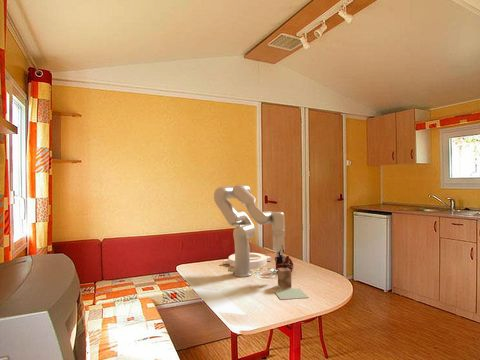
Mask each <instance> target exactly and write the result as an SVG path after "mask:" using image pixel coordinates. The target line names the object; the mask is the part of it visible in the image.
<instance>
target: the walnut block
mask: <svg viewBox="0 0 480 360" xmlns="http://www.w3.org/2000/svg"><path fill="white" fill-rule="evenodd" d="M277 286H278V288H279V290H282V289H292V272H291V270H290V269H289V268H278V271H277Z"/></svg>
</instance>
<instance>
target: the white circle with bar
mask: <svg viewBox="0 0 480 360" xmlns="http://www.w3.org/2000/svg"><path fill="white" fill-rule="evenodd" d="M270 261H272V257H271V256H268V255H267V256H266V255H265V254H263V253H258V252H250V269H258V268H262V267H264V266H266V265H267V264H268V262H270ZM222 262H223V263H222V264H224V265H229V266H231V267H232V268H234V266H235V253H232V254H231V255H229V256H228V259H223V260H222Z"/></svg>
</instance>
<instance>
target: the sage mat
mask: <svg viewBox="0 0 480 360" xmlns="http://www.w3.org/2000/svg"><path fill="white" fill-rule="evenodd" d="M273 292H274V294H275V295H276V296H277V297H278V299H279V300H280V301H283V300H296V299H297V300H298V299H299V300H300V299H309V296H308V294H306V293H305V292H304V290H303V289H301V288H298V287H297V288H291V289H282V290H281V289H273Z"/></svg>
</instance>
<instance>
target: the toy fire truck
mask: <svg viewBox="0 0 480 360" xmlns="http://www.w3.org/2000/svg"><path fill="white" fill-rule="evenodd" d="M277 257H278V256H275V257H274V261H275V270H276V271H277V270H278V268H289V269H290V270H291V273H292V272H293V269H294V263H293V260H292V258H290V256H289V255H286V256H284V255H283V263H282V264H277Z"/></svg>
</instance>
